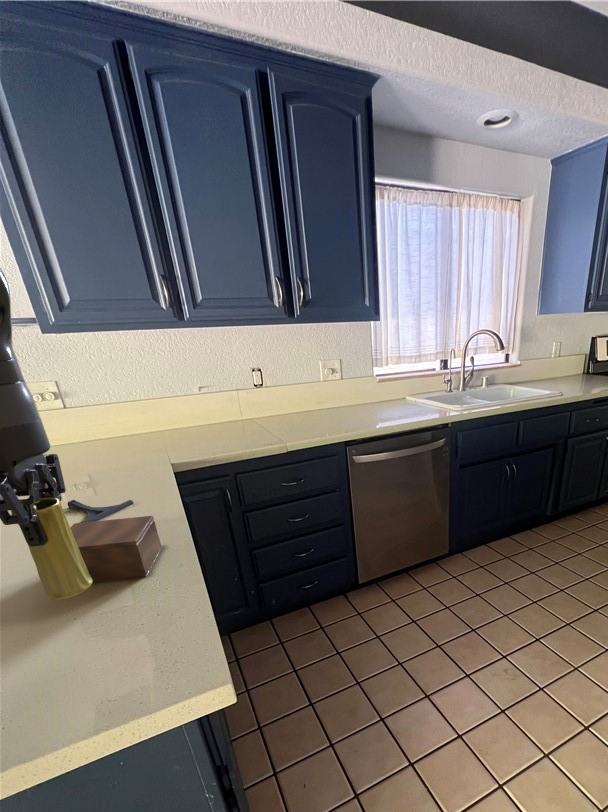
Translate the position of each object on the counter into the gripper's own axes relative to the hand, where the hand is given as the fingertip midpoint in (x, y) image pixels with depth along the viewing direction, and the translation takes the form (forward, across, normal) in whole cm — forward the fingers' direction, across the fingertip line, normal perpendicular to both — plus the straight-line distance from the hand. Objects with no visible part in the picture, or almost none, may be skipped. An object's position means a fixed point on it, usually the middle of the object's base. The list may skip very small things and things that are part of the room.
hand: (48, 534), depth 62 cm
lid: (+11, -22, -3) cm, 25 cm away
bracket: (+20, -54, -20) cm, 61 cm away
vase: (+10, 0, 0) cm, 10 cm away
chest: (+19, -22, -3) cm, 29 cm away
